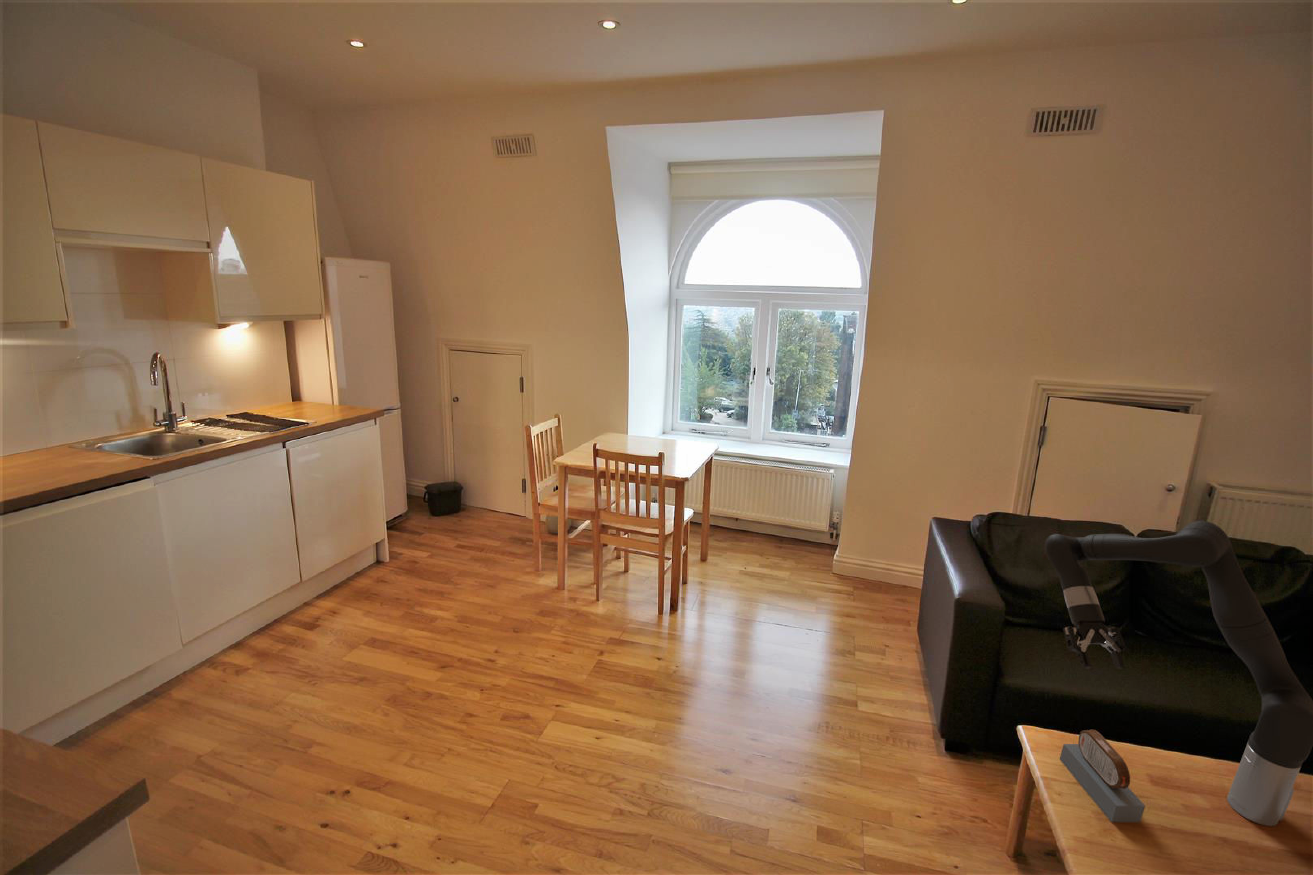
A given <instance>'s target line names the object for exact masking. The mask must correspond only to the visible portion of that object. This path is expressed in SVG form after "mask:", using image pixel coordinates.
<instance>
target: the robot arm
mask: <svg viewBox="0 0 1313 875" xmlns="http://www.w3.org/2000/svg"><path fill="white" fill-rule="evenodd" d="M1044 549H1045V554H1046V556H1047V558H1048V560H1049V562H1050V564H1051V565H1052V567H1053V570H1054V571H1055V572H1056V574H1057V576H1058V578H1059V582H1060V586H1061V588H1062V591H1063V596H1064V600H1065V604H1066V607H1067V611H1068V615H1069V617H1070V620H1071V623H1072V625H1073V626H1074V627H1073V626H1072V625H1070V626H1066V627H1063V635H1064V638H1065V642H1066V646H1067V650H1069V651H1072V652H1075V654H1077V657H1078V660H1079V663H1080V664H1079V665H1081V666H1082V668H1083V669H1090V668H1092V665H1091V662H1090V658H1089V655H1088V652H1086V651H1087V649H1088V646H1090V645H1093V644H1094V645H1100V646H1102V647H1103V648H1105V649H1106V650H1107V651H1108V652H1109V653H1110V654H1109V655H1110V658H1111V660H1112V664H1113V667H1114V668H1115V669H1118V670H1119V669H1123V668H1124V664H1125V662H1124V660H1123V657H1122V654H1121V652H1123V651H1126V650H1127V648H1128V647H1127V646H1126V643H1125V641H1124V638H1123V636H1122V633H1121V631H1120V628H1119V627H1118V626H1113V627H1107V626H1106V624H1105V620H1106V619H1105V616H1104V614H1103V611H1102V608H1101V604H1100V602H1099V599H1098V596H1097V594H1096V592H1095V590H1094V587H1093V584H1092V581H1091V578H1090V576H1089V573H1088V571H1087V570H1086V568H1084V567H1083V566H1082V565H1081V564H1079V562H1085V561H1086V562H1087V561H1095V560H1096V561H1138V562H1139V561H1141V562H1142V561H1143V562H1153V563H1162V564H1170V565H1177V566H1183V567H1184V566H1185V567H1195V568H1201V570H1202V572H1203V574H1204V576H1205V578H1206V582H1207V586H1208V593H1209V600H1210V607H1211V610H1212V615H1213V618H1214V620H1215V623H1216V624H1217V626H1218V628H1219V630H1220V632H1221V634H1222V636H1223V637H1224V640H1225V641H1226V643H1227V645H1228V646H1229V647H1230V648H1231V649H1232V651H1233V652H1234V654H1236V655H1237V656H1238V658H1239V659H1241V661H1242V662H1243V663H1244V664H1245V666H1246V667H1247V668H1248V669H1249V671H1250V673H1251V675H1252V677H1253V679H1254V682H1255V684H1256V686H1257V689H1258V692H1259V695H1260V699H1261V712H1260V715H1259V718H1258V721H1257V722H1256V726H1255V729H1254V731H1252V732H1251V733H1250V735H1249V738H1248V741H1247V743H1246V747H1245V749H1244V752H1243V754H1242V756H1241V760H1240V762H1239V765H1238V768H1237V770H1236V772H1235V776H1234V778H1233V781H1232V784H1231V787H1230V789H1229V792H1228V794H1227V799H1226V800H1227V802H1228V804H1229V806H1231V808H1232V809H1234V811H1236V813H1238V814H1240V815H1241V816H1242V817H1244V818H1246V819H1247V820H1249V821H1252V822H1253V823H1256V824H1258V825H1262V826H1267V827H1274V826H1276V825H1278V823H1279V821H1283V819H1284V817H1285V815H1286V812H1287V809H1288V807H1289V805H1290V802H1291V800H1292V797H1293V795H1294V792H1295V789H1294V784H1295V782H1296V780H1297V777H1298V775H1299V772H1300V770H1301V768H1302V765H1303V763H1304V762H1305V761H1306V760H1307V758H1308V757H1309V755H1310V753H1311V751H1312V748H1313V699H1312V697H1311V696H1310V695H1309V693H1308V691H1307V690H1306V689H1305V688H1304V686H1303V685H1302V684H1301V682H1300V680H1299V679H1298V677H1297V676H1296V674H1295V673H1294V672H1293V670H1292V668H1291V666H1290V664H1289V663H1288V662H1289V661H1288V660H1287V658H1286V657H1287V656H1286V654H1285V652H1284V649H1283V647H1282V645H1281V642H1280V641H1279V638H1278V636H1277V633H1276V632H1275V630H1274V627H1273V626H1272V624H1271V622H1270V621H1269V619H1268V616H1267V614H1266V613H1265V610H1263V608H1262V606H1261V604H1260V602H1259V600H1258V599H1257V597H1256V595H1255V593H1254V591H1253V589H1252V587H1251V586H1250V584H1249V582H1248V581H1247V579H1246V577H1245V575H1244V573H1243V571H1242V568H1241V565H1240V564H1239V561H1238V558H1237V556H1236V553H1235V551H1234V547H1233V546H1232V543H1231V541H1230V538H1229V536H1228V535H1227V533H1226V532H1225V531H1224V530H1223V529H1222V528H1221V527H1219V526H1218V525H1216V524H1215V523H1213V522H1210V521H1207V520H1195V521H1193V522H1192V521H1191V522H1190V523H1189V524H1187V525H1185V526H1184V527H1183V528H1182V529H1180V530H1179V531H1178V532H1177V533H1176V534H1174V535H1173V534H1172V535H1168V536H1167V535H1166V536H1161V537H1148V538H1147V537H1139V536H1134V535H1130V534H1129V535H1128V534H1125V533H1098V534H1097V533H1096V534H1093V533H1092V534H1088V535H1086V536H1085V537H1083V536H1082V537H1079V536H1078V537H1075V536H1074V537H1073V536H1067V535H1066V534H1065V535H1064V534H1060V533H1054V534H1050V535H1049V536H1048V537H1047V538H1046V540H1045V544H1044ZM1076 635H1077V636H1078V639H1077V637H1076Z"/></svg>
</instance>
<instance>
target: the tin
mask: <svg viewBox="0 0 1313 875" xmlns="http://www.w3.org/2000/svg"><path fill="white" fill-rule="evenodd" d="M1077 744H1079V748H1080V751H1081V753H1082V755H1083V757H1084V758H1085V759H1086V761H1087V762H1088V763H1089V764H1090V765H1091V767H1092V768H1093V769H1094V770H1095V771H1096V773H1097V774H1098V775H1099V776H1100V777H1101V778H1102V780H1103V781H1104V782H1105V783H1106V784H1107V785H1108V786H1110V787H1112V788H1122V789H1125V788H1127V787H1129V786H1130V784H1131V774H1130V770H1129V767H1128V765H1127V763H1126V761H1125V760H1124V758H1123V757H1122V756H1121V755H1120V754H1119V753H1118V751H1116V749H1115V748H1114V747H1113V746H1112V745H1111V744H1110V743H1109V741H1107V739H1105V736H1103V735H1102V734H1101V733H1100V732H1099V731H1097V730H1096V729H1085V730H1081V731H1080V732H1079V734H1078V743H1077Z"/></svg>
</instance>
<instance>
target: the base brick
mask: <svg viewBox="0 0 1313 875" xmlns="http://www.w3.org/2000/svg"><path fill="white" fill-rule="evenodd" d="M1059 761H1061V763H1062V764H1063V766H1064V767H1066V769H1067V770H1068V771H1069V773H1070V774H1071V775H1072V776H1073V777H1074V778H1075V780H1076V781H1077V782H1078V784H1079V785H1080V786H1081V788H1083V789H1084V791H1085V792H1086V793H1087V794H1088V795H1089V797H1090V798H1091V800H1093V802H1094V803H1095V804H1096V805H1097V806H1098V808H1099V809H1100V810H1101V811H1102V813H1103V814H1104V815H1105V816H1106V817H1107V819H1108V820H1109V822H1111V823H1140V822H1141V821H1142V818H1143V814H1144V811H1145V808H1146V804H1144V803H1143V802H1142V801H1141V799H1140V798H1139V797H1138V796H1137V795H1136V794H1135V793H1134V791H1132V789H1130V787H1129V786H1128V787H1127V788H1125V789H1122V788H1112V787H1110V786H1108V785H1107V784H1106V783H1105V782H1104V781H1103V780H1102V778H1101V777H1100V776H1099V775H1098V774H1097V773H1096V771H1095V770H1094V769H1093V768H1092V767H1091V765H1090V764H1089V763H1088V762H1087V761H1086V759H1085V758H1084V757H1083V755H1082V753H1081V751H1080V748H1079V743H1063V745H1062V748H1061V752H1060V756H1059Z"/></svg>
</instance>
